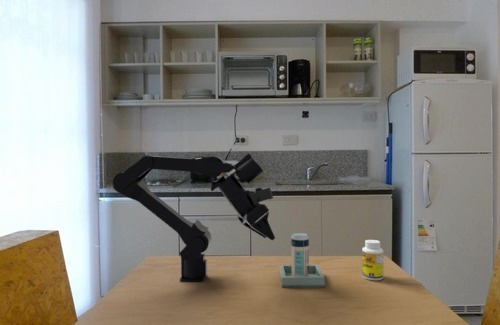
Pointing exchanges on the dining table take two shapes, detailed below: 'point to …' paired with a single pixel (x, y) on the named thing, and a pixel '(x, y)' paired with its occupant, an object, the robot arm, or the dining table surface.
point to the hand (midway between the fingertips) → (269, 238)
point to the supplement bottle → (372, 260)
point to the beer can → (300, 254)
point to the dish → (302, 277)
